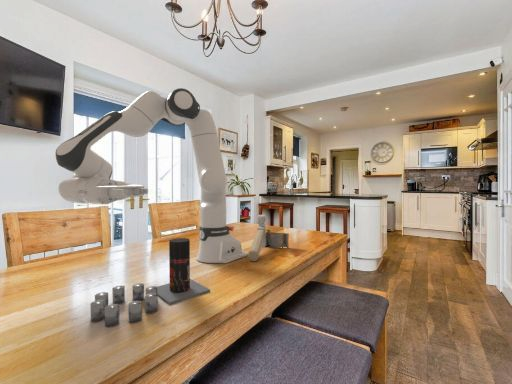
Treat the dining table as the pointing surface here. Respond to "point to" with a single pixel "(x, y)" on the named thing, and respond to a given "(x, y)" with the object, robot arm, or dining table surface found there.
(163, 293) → the slate mat
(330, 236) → the dining table surface
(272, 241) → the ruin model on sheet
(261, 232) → the hammer
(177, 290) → the deodorant
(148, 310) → the grey upright cylinders
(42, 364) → the dining table surface
